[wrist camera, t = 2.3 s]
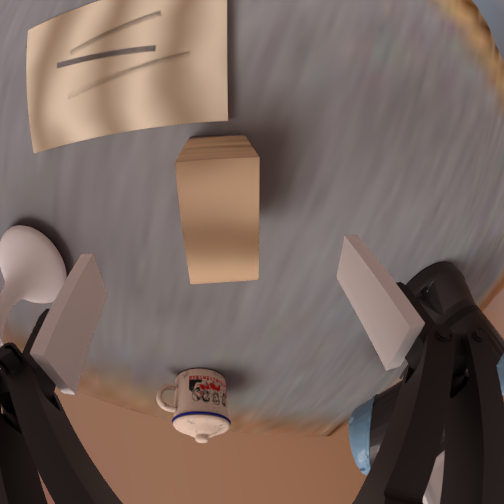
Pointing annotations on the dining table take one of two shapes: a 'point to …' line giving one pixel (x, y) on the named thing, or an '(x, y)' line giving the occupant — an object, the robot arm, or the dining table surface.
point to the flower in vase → (28, 269)
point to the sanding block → (219, 208)
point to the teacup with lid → (198, 404)
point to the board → (126, 69)
